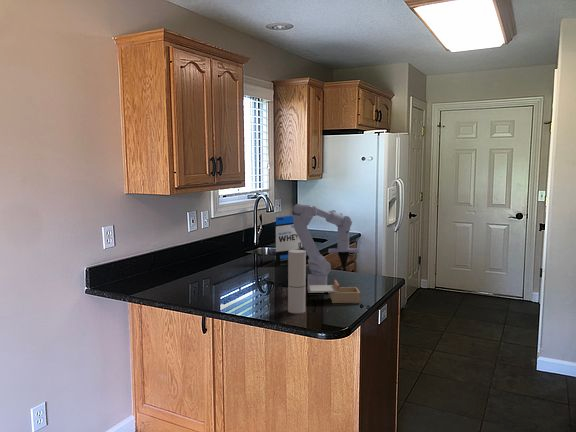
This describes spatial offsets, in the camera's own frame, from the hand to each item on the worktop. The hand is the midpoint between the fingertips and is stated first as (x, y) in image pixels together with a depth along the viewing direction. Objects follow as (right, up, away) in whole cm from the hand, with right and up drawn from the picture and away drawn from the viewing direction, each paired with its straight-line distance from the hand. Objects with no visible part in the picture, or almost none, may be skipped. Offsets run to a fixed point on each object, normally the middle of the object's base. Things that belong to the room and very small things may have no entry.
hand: (343, 267), depth 236 cm
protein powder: (-26, -5, +60) cm, 65 cm away
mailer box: (-2, -13, -22) cm, 26 cm away
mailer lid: (-11, -7, -23) cm, 26 cm away
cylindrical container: (-24, -14, -37) cm, 47 cm away
